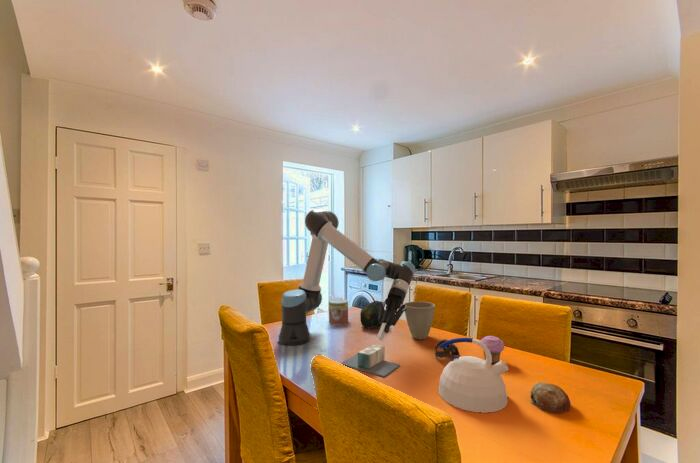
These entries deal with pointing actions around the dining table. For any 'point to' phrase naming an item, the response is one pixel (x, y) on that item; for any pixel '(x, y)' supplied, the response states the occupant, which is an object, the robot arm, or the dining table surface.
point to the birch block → (371, 356)
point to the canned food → (338, 311)
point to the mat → (378, 369)
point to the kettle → (473, 381)
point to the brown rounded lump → (550, 398)
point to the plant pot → (419, 318)
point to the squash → (370, 315)
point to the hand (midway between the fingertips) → (379, 338)
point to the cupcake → (493, 347)
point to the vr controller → (446, 350)
